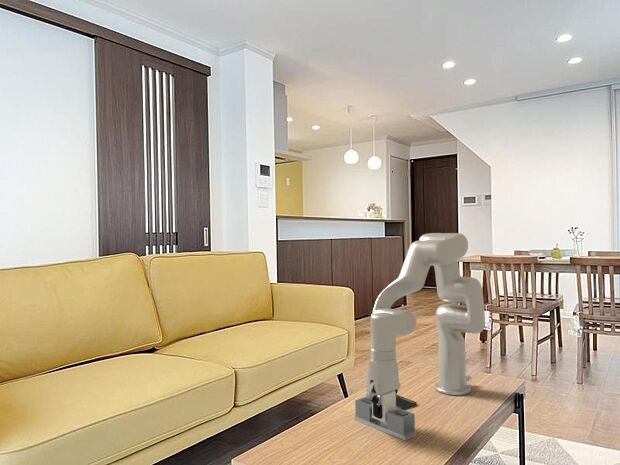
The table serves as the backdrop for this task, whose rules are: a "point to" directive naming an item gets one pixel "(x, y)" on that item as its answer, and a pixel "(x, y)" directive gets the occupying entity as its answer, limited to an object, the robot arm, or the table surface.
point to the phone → (404, 403)
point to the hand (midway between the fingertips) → (383, 414)
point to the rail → (397, 420)
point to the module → (386, 405)
